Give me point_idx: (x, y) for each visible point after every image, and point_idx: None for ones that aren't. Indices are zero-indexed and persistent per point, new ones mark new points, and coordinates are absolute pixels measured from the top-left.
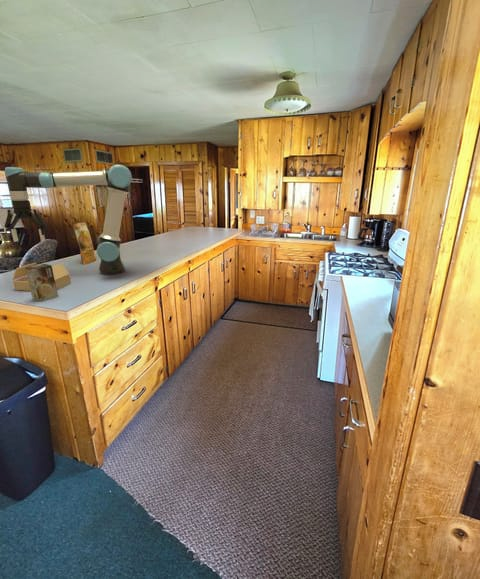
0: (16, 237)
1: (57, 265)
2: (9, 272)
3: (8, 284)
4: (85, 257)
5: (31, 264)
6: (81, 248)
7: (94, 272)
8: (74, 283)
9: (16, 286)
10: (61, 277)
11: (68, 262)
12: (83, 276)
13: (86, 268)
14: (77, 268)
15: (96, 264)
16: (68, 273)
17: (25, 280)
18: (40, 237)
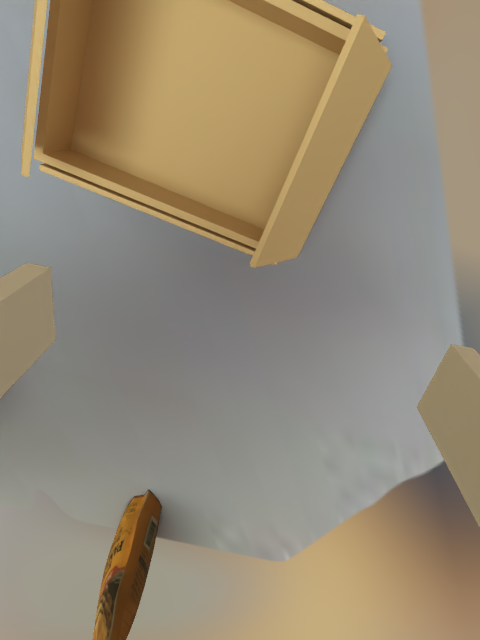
0: (455, 427)
1: (27, 107)
2: None
3: (431, 225)
4: (126, 527)
5: (274, 210)
6: (120, 579)
7: None
8: None
9: None
10: (104, 172)
11: (228, 534)
12: (56, 287)
13: (106, 429)
14: (151, 439)
15: (87, 479)
16: (22, 139)
17: None
18: (6, 297)
